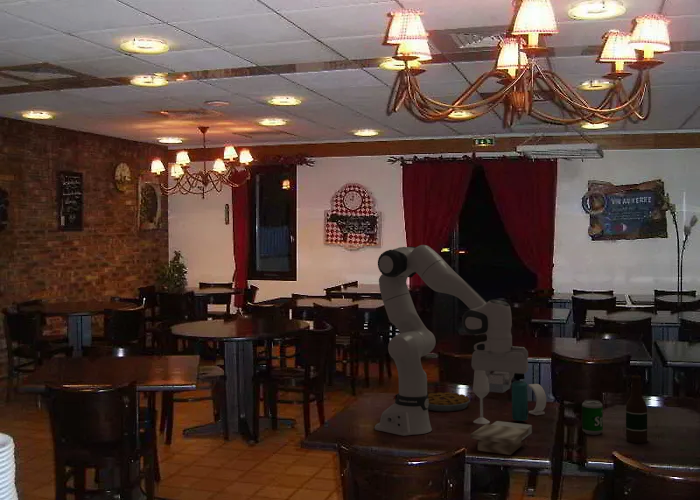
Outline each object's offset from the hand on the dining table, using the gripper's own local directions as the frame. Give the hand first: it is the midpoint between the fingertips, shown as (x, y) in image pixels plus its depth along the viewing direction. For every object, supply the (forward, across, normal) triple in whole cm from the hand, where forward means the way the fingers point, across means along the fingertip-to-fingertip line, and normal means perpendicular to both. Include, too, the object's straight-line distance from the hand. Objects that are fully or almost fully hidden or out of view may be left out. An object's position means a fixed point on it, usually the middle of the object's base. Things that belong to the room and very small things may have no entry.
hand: (499, 383), depth 282 cm
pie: (+23, +41, -51) cm, 69 cm away
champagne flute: (+23, +18, -32) cm, 43 cm away
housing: (+2, 0, 0) cm, 2 cm away
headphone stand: (+23, +1, -54) cm, 59 cm away
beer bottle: (+23, -42, -29) cm, 56 cm away
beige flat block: (+23, +2, -18) cm, 29 cm away
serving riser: (+23, 0, +1) cm, 23 cm away
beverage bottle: (+23, +3, -37) cm, 44 cm away
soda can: (+23, -26, -34) cm, 48 cm away
